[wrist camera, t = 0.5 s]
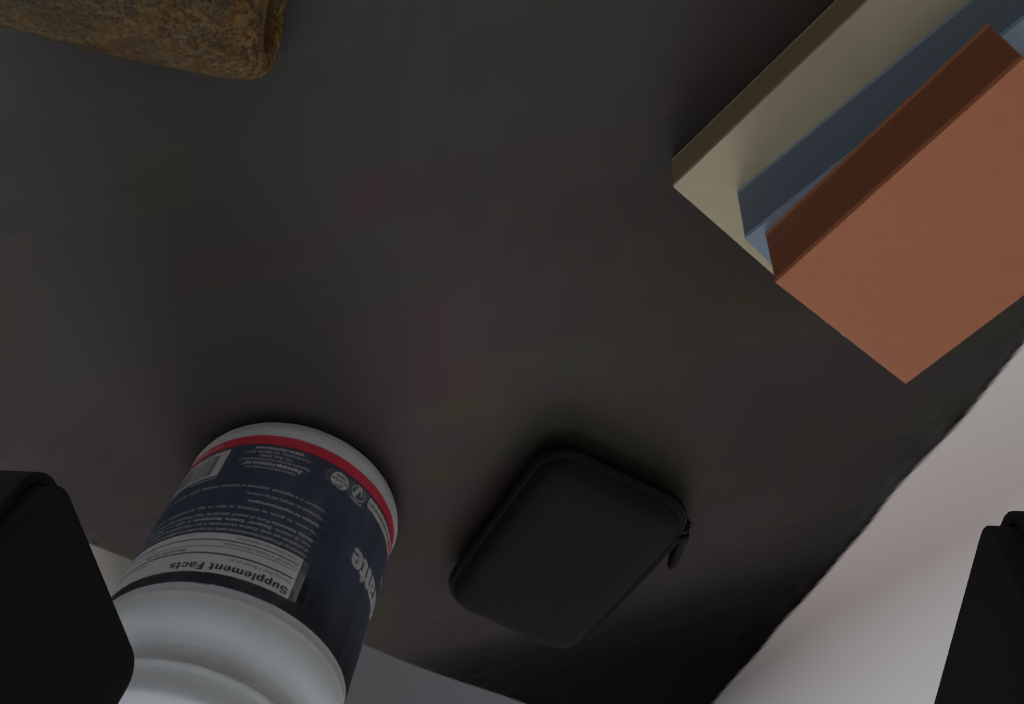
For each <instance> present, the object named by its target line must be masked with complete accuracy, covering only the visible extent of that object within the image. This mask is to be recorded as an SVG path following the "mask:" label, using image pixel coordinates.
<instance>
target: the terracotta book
mask: <svg viewBox="0 0 1024 704" xmlns="http://www.w3.org/2000/svg"><path fill="white" fill-rule="evenodd" d="M765 236H766V240H767V244H768V249H769V254H770V259H771V263H772V268H773V273H774V277H775V282H776V283H777V284H778V285H779V286H781V287H782V288H783V289H785V290H786V291H787V292H788V293H790V294H791V295H792V296H794V297H795V298H796V299H797V300H799V301H800V302H801V303H803V304H804V305H805V306H806V307H808V308H809V309H810V310H812V311H813V312H814V313H815V314H817V315H818V316H819V317H821V318H822V319H823V320H824V321H826V322H827V323H828V324H829V325H831V326H832V327H833V328H835V329H836V330H837V331H838V332H840V333H841V334H842V335H844V336H845V337H846V338H847V339H849V340H850V341H851V342H853V343H854V344H855V345H856V346H858V347H859V348H860V349H862V350H863V351H864V352H865V353H867V354H868V355H869V356H871V357H872V358H873V359H874V360H876V361H877V362H878V363H880V364H881V365H882V366H883V367H885V368H886V369H887V370H889V371H890V372H891V373H892V374H894V375H895V376H896V377H897V378H899V379H900V380H901V381H903V382H904V383H905V384H906V383H907V382H909V381H910V380H911V379H913V378H914V377H915V376H917V375H918V374H919V373H921V372H922V371H923V370H925V369H926V368H927V367H929V366H930V365H931V364H933V363H934V362H935V361H937V360H938V359H939V358H941V357H942V356H943V355H945V354H946V353H947V352H949V351H950V350H951V349H953V348H954V347H955V346H957V345H958V344H959V343H961V342H962V341H963V340H965V339H966V338H967V337H969V336H970V335H971V334H973V333H974V332H975V331H977V330H978V329H979V328H981V327H982V326H983V325H985V324H986V323H987V322H989V321H990V320H991V319H993V318H994V317H995V316H997V315H998V314H999V313H1001V312H1002V311H1003V310H1005V309H1006V308H1007V307H1009V306H1010V305H1011V304H1013V303H1014V302H1015V301H1017V300H1018V299H1019V298H1021V297H1022V296H1023V295H1024V57H1023V56H1022V55H1021V54H1020V53H1018V52H1017V51H1016V50H1015V49H1014V48H1013V47H1012V46H1011V45H1010V44H1009V43H1008V42H1007V41H1005V40H1004V39H1003V38H1002V37H1001V36H1000V35H999V34H998V33H997V32H996V31H995V30H994V29H993V28H991V27H990V26H989V25H988V24H986V25H985V26H984V27H983V28H982V29H981V30H980V31H979V32H977V33H976V34H975V35H974V36H973V37H972V38H971V39H970V40H969V41H968V42H967V43H966V44H965V45H964V46H963V47H962V48H961V49H959V50H958V51H957V52H956V53H955V54H954V55H953V56H952V57H951V58H950V59H949V60H948V61H947V62H946V63H945V64H944V65H942V66H941V67H940V68H939V69H938V70H937V71H936V72H935V73H934V74H933V75H932V76H931V77H930V78H929V79H928V80H927V81H926V82H924V83H923V84H922V85H921V86H920V87H919V88H918V89H917V90H916V91H915V92H914V93H913V94H912V95H911V96H910V97H909V98H908V99H906V100H905V101H904V102H903V103H902V104H901V105H900V106H899V107H898V108H897V109H896V110H895V111H894V112H893V113H892V114H891V115H890V116H888V117H887V118H886V119H885V120H884V121H883V122H882V123H881V124H880V125H879V126H878V127H877V128H876V129H875V130H874V131H873V132H872V133H870V134H869V135H868V136H867V137H866V138H865V139H864V140H863V141H862V142H861V143H860V144H859V145H858V146H857V147H856V148H855V149H854V150H852V151H851V152H850V153H849V154H848V155H847V156H846V157H845V158H844V159H843V160H842V161H841V162H840V163H839V164H838V165H837V166H836V167H834V168H833V169H832V170H831V171H830V172H829V173H828V174H827V175H826V176H825V177H824V178H823V179H822V180H821V181H820V182H819V183H818V184H816V185H815V186H814V187H813V188H812V189H811V190H810V191H809V192H808V193H807V194H806V195H805V196H804V197H803V198H802V199H801V200H800V201H798V202H797V203H796V204H795V205H794V206H793V207H792V208H791V209H790V210H789V211H788V212H787V213H786V214H785V215H784V216H783V217H782V218H780V219H779V220H778V221H777V222H776V223H775V224H774V225H773V226H772V227H771V228H770V229H769V230H768V231H767V232H766V233H765Z"/></svg>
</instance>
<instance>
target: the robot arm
mask: <svg viewBox="0 0 1024 704" xmlns="http://www.w3.org/2000/svg"><path fill="white" fill-rule="evenodd" d="M133 671H134V653H133V649H132V646H131V644H130V642H129V639H128V637H127V634H126V632H125V630H124V627H123V625H122V622H121V620H120V618H119V615H118V613H117V610H116V608H115V606H114V603H113V601H112V598H111V596H110V594H109V591H108V589H107V586H106V584H105V582H104V579H103V577H102V574H101V572H100V569H99V567H98V565H97V562H96V560H95V558H94V555H93V553H92V550H91V548H90V545H89V543H88V541H87V538H86V536H85V533H84V531H83V529H82V526H81V524H80V521H79V519H78V516H77V514H76V512H75V509H74V507H73V504H72V502H71V500H70V497H69V495H68V494H67V492H66V490H64V489H63V488H62V487H58V486H57V485H56V483H55V482H54V480H53V478H52V477H50V476H49V475H48V474H46V473H41V472H26V471H1V470H0V704H118V703H119V702H120V700H121V698H122V696H123V695H124V693H125V691H126V689H127V688H128V685H129V683H130V681H131V678H132V675H133ZM934 704H1024V511H1011V512H1008V513H1007V514H1006V515H1005V516H1004V518H1003V521H1002V523H1001V525H1000V526H986V527H985V528H984V529H983V531H982V533H981V536H980V539H979V543H978V547H977V550H976V554H975V557H974V561H973V565H972V569H971V572H970V576H969V580H968V583H967V587H966V591H965V594H964V597H963V601H962V605H961V609H960V612H959V616H958V619H957V623H956V627H955V631H954V634H953V638H952V641H951V645H950V648H949V652H948V656H947V660H946V663H945V667H944V670H943V674H942V678H941V681H940V685H939V688H938V692H937V696H936V699H935V703H934Z"/></svg>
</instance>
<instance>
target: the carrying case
mask: <svg viewBox="0 0 1024 704" xmlns="http://www.w3.org/2000/svg"><path fill="white" fill-rule="evenodd" d="M691 525H692V524H691V522H690V521H689V519H687V513H686V509H685V507H684V505H683V503H682V501H681V500H680V499H679V498H678V497H677V496H676V495H675V494H674V493H673V492H671V491H669V490H668V489H665V488H663V487H661V486H659V485H657V484H655V483H653V482H651V481H649V480H647V479H645V478H643V477H641V476H639V475H636V474H634V473H632V472H630V471H628V470H626V469H624V468H622V467H620V466H618V465H616V464H614V463H612V462H610V461H608V460H606V459H604V458H602V457H600V456H598V455H596V454H593V453H591V452H589V451H587V450H585V449H583V448H581V447H578V446H575V445H570V444H557V445H553V446H549V447H547V448H545V449H543V450H541V451H540V452H539V453H538V454H537V455H536V456H535V457H534V458H533V460H532V461H531V462H530V464H529V465H528V466H527V467H526V469H525V470H524V472H523V473H522V474H521V476H520V477H519V478H518V480H517V481H516V483H515V484H514V485H513V487H512V488H511V490H510V491H509V492H508V494H507V495H506V496H505V498H504V499H503V501H502V502H501V503H500V505H499V506H498V508H497V509H496V510H495V512H494V513H493V514H492V516H491V517H490V519H489V520H488V521H487V523H486V524H485V525H484V527H483V528H482V530H481V531H480V532H479V534H478V535H477V536H476V538H475V539H474V541H473V542H472V543H471V545H470V546H469V547H468V549H467V550H466V552H465V553H464V554H463V556H462V557H461V558H460V560H459V561H458V563H457V564H456V566H455V567H454V569H453V570H452V572H451V574H450V577H449V588H450V591H451V594H452V595H453V597H454V598H455V599H456V600H457V601H458V603H459V604H460V605H462V606H463V607H464V608H465V609H467V610H469V611H471V612H473V613H476V614H478V615H480V616H482V617H485V618H487V619H489V620H491V621H494V622H496V623H498V624H500V625H503V626H505V627H507V628H509V629H512V630H514V631H516V632H518V633H521V634H523V635H525V636H527V637H530V638H532V639H534V640H537V641H539V642H541V643H543V644H546V645H548V646H551V647H555V648H563V649H565V648H568V647H571V646H573V645H574V644H576V643H579V642H581V641H582V640H584V639H585V640H586V641H587V640H589V639H590V637H591V636H592V635H593V633H594V632H595V631H596V630H597V629H598V628H599V627H600V626H601V625H602V624H603V623H604V622H605V621H606V620H607V619H608V618H609V617H610V615H611V614H612V613H613V612H614V611H615V610H616V609H617V608H618V607H619V606H620V605H621V604H622V603H623V602H624V601H625V600H626V599H627V597H628V596H629V595H630V594H631V593H632V592H633V591H634V590H635V589H636V588H637V587H638V586H639V585H640V584H641V583H642V582H643V581H644V579H645V578H646V577H647V576H648V575H649V574H650V573H651V572H652V571H653V570H654V569H655V568H656V567H657V566H658V565H659V564H660V563H661V561H662V560H663V559H664V558H665V557H666V556H667V555H668V554H669V553H670V554H669V558H668V568H669V569H670V570H672V569H673V568H674V567H675V566H676V564H677V563H678V561H679V558H680V556H681V554H682V552H683V550H684V548H685V545H686V543H687V541H688V539H689V530H690V528H691Z"/></svg>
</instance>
